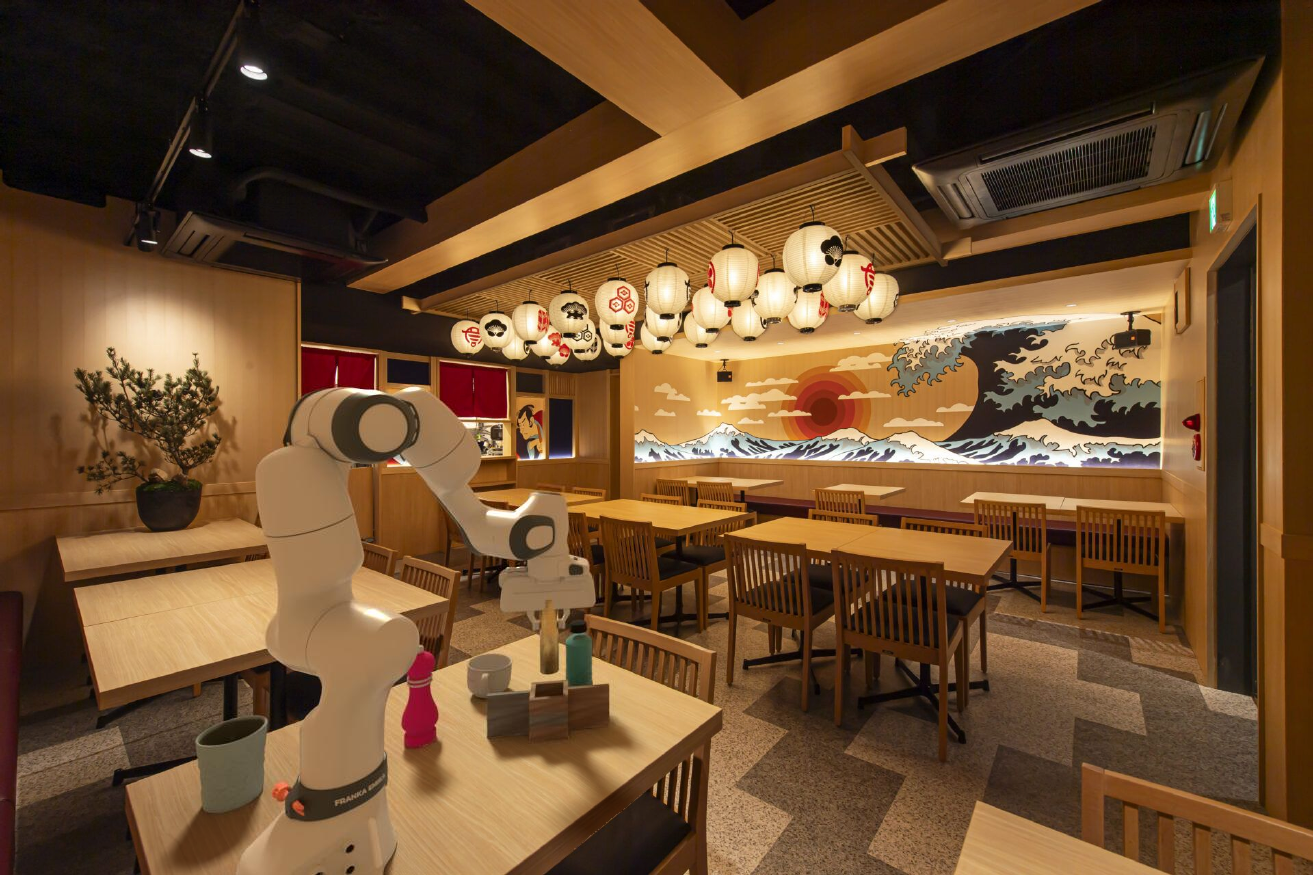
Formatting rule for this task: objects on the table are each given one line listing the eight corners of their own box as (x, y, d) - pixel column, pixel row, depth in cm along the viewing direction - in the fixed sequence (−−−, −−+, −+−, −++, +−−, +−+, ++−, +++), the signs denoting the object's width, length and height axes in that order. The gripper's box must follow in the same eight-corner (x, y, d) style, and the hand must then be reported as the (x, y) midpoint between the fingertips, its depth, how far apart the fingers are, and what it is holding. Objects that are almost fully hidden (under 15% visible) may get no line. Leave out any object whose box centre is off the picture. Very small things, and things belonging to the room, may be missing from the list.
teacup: (476, 681, 138) (476, 651, 137) (518, 682, 137) (517, 651, 137) (454, 709, 124) (454, 675, 124) (500, 710, 123) (499, 676, 123)
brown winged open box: (610, 735, 113) (610, 693, 113) (484, 747, 109) (484, 704, 109) (608, 715, 121) (607, 676, 121) (490, 726, 117) (489, 685, 117)
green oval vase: (211, 824, 88) (211, 752, 88) (185, 803, 93) (184, 735, 92) (279, 788, 97) (278, 723, 96) (251, 771, 101) (251, 709, 101)
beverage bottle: (581, 715, 121) (580, 628, 121) (559, 707, 124) (558, 623, 124) (598, 703, 126) (598, 619, 126) (577, 695, 130) (576, 614, 130)
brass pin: (549, 676, 112) (548, 601, 112) (536, 671, 114) (535, 597, 114) (562, 669, 115) (561, 596, 115) (550, 664, 118) (549, 593, 117)
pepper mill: (424, 751, 108) (424, 653, 107) (393, 747, 109) (392, 650, 109) (445, 731, 115) (445, 640, 114) (416, 728, 116) (415, 637, 116)
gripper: (496, 571, 110) (497, 637, 110) (595, 566, 113) (596, 630, 113) (500, 564, 116) (501, 626, 116) (594, 559, 119) (595, 620, 119)
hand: (549, 628), depth 115 cm, fingers closed on brass pin, 4 cm apart
